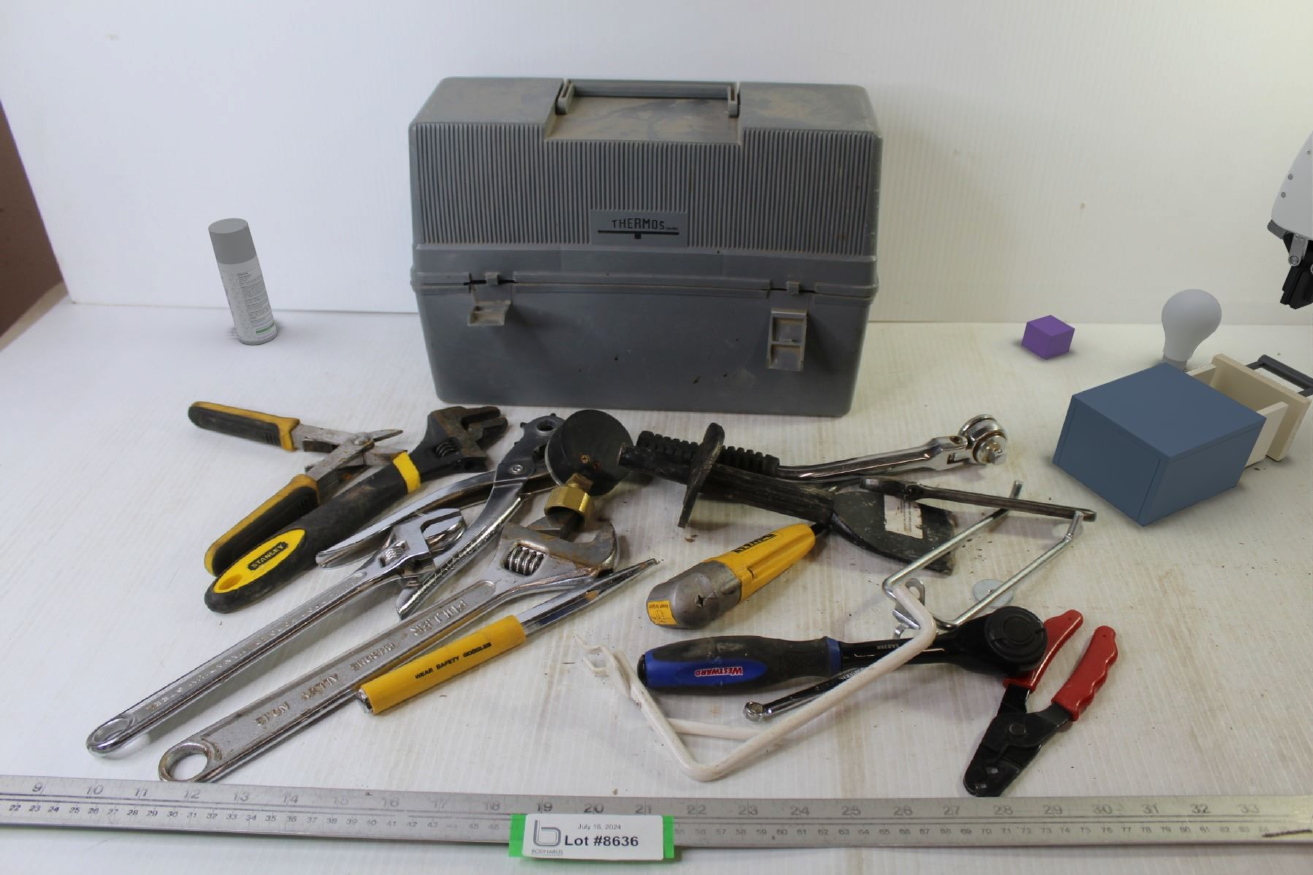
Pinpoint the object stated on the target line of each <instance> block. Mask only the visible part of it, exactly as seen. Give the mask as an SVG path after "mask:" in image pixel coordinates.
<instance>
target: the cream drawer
mask: <svg viewBox="0 0 1313 875" xmlns="http://www.w3.org/2000/svg"><path fill="white" fill-rule="evenodd" d="M1259 369H1263V370H1265V371H1267V372H1269V373H1270V374H1272V375H1275V376H1277V377H1278V378H1280V379H1282V380H1284V381H1286V382H1287V383H1290V384H1292V385H1294V386H1296V387H1298V388H1300V389H1301V390H1300V391H1298V392H1296V391H1294V390H1293V389H1291V388H1290V387H1289V388H1288V387H1286V386H1285V385H1283V384H1281V383H1279V382H1277V381H1276V380H1273V379H1271V378H1269V377H1267V376H1265V375H1264V374H1261V373H1260V372H1258V371H1256V370H1259ZM1185 373H1187V374H1189V375H1190V376H1192V377H1194V378H1196V379H1198V380H1199V381H1201V382H1203V383H1205V384H1207V385H1208V386H1210V387H1212V388H1214V389H1216V390H1217V391H1219V392H1221V393H1223V394H1225V395H1226V396H1228V397H1230V398H1232V399H1234V400H1235V401H1237V402H1239V403H1241V404H1243V405H1245V406H1246V407H1248V408H1250V409H1252V410H1254V411H1255V412H1257V413H1259V414H1261V415H1263V416H1264V417H1266V418H1267V419H1266V422H1265V424H1264V426H1263V428H1262V430H1261V432H1260V435H1259V437H1258V439H1257V441H1256V444H1255V446H1254V448H1253V450H1252V452H1251V455H1250V457H1249V459H1248V461H1247V463H1246V466H1245V468H1247V467H1249V466H1252V465H1254V464H1256V463H1259V462H1260V461H1263V460H1264V459H1265V458H1266V456H1268V457H1269V458H1271V459H1272V460H1275V461H1276V462H1278V461H1281V460H1283V459H1285V458H1286V456H1287V454H1288V452H1289V450H1290V447H1291V445H1292V443H1293V441H1294V440H1295V437H1296V435H1297V433H1298V431H1299V428H1300V426H1301V424H1302V422H1303V420H1304V418H1305V416H1306V414H1307V412H1308V410H1309V407H1310V405H1311V404H1312V401H1313V400H1312V399H1310V398H1309V397H1311V396H1313V378H1312V377H1311V376H1309V375H1307V374H1305V373H1303V372H1301V371H1299V370H1297V369H1295V368H1294V367H1291V366H1289V365H1287V364H1285V363H1283V362H1282V361H1279V360H1278V359H1276V358H1274V357H1271V356H1269V355H1267V354H1262V355H1261V356H1259V357H1258V359H1257V361H1256V360H1255V361H1253V362H1251V363H1248V364H1245V365H1244V364H1242V363H1241V362H1239V361H1237V360H1235V359H1234V358H1231V357H1229V356H1227V355H1225V354H1224V353H1218V354H1215V355H1214V356H1213V357H1212V360H1211V362H1210V363H1208V364H1205V365H1202V366H1200V367H1197V368H1194V369H1191V370H1188V371H1185Z"/></svg>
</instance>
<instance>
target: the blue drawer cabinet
mask: <svg viewBox="0 0 1313 875" xmlns="http://www.w3.org/2000/svg"><path fill="white" fill-rule="evenodd" d="M1266 419H1267V418H1266V417H1264V416H1263V415H1261V414H1259V413H1257V412H1255V411H1254V410H1252V409H1250V408H1248V407H1246V406H1245V405H1243V404H1241V403H1239V402H1237V401H1235V400H1234V399H1232V398H1230V397H1228V396H1226V395H1225V394H1223V393H1221V392H1219V391H1217V390H1216V389H1214V388H1212V387H1210V386H1208V385H1207V384H1205V383H1203V382H1201V381H1199V380H1198V379H1196V378H1194V377H1192V376H1190V375H1189V374H1187V373H1186V371H1184V370H1183V371H1181V370H1179V369H1178V368H1176V367H1174V366H1172V365H1170V364H1169V363H1167V362H1165V363H1162V364H1161V363H1159V364H1157V365H1154V366H1151V367H1148V368H1145V369H1142V370H1140V371H1137V372H1134V373H1131V374H1128V375H1126V376H1123V377H1120V378H1117V379H1114V380H1110V381H1108V382H1105V383H1102V384H1099V385H1096V386H1093V387H1090V388H1088V389H1086V390H1083V391H1079V392H1077V393H1074V394H1072V395H1071V397H1070V401H1069V404H1068V407H1067V411H1066V414H1065V417H1064V420H1063V424H1062V427H1061V431H1060V434H1059V437H1058V440H1057V444H1056V446H1055V451H1054V454H1053V458H1052V461H1051V463H1052V464H1054V465H1056V466H1057V467H1059V468H1060V469H1061V470H1063V472H1065V473H1067V474H1068V475H1070V476H1071V477H1072V478H1073V479H1075V480H1076V481H1077V482H1079V483H1080V484H1082V485H1083V486H1085V487H1086V488H1087V489H1089V490H1090V491H1091V492H1093V493H1095V494H1096V495H1098V496H1099V497H1100V498H1102V499H1103V500H1104V501H1106V502H1107V503H1109V504H1110V505H1111V506H1113V507H1115V508H1116V509H1117V510H1118V511H1119V512H1121V513H1123V514H1124V515H1125V516H1127V517H1128V518H1130V519H1131V520H1132V521H1134V522H1135V523H1136V524H1138V525H1140V526H1141V527H1142V528H1144V527H1146V526H1149V525H1151V524H1153V523H1156V522H1157V521H1160V520H1162V519H1165V518H1167V517H1169V516H1172V515H1174V514H1176V513H1178V512H1181V511H1184V510H1185V509H1187V508H1189V507H1192V506H1194V505H1196V504H1199V503H1202V502H1203V501H1206V500H1208V499H1210V498H1213V497H1216V496H1217V495H1219V494H1222V493H1224V492H1226V491H1229V490H1231V489H1232V488H1235V487H1237V485H1238V484H1239V481H1240V479H1241V477H1242V474H1243V472H1244V471H1245V468H1246V467H1247V466H1246V463H1247V461H1248V459H1249V457H1250V455H1251V452H1252V450H1253V448H1254V446H1255V444H1256V441H1257V439H1258V437H1259V435H1260V432H1261V430H1262V428H1263V426H1264V424H1265V422H1266ZM1245 466H1246V467H1245Z"/></svg>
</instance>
